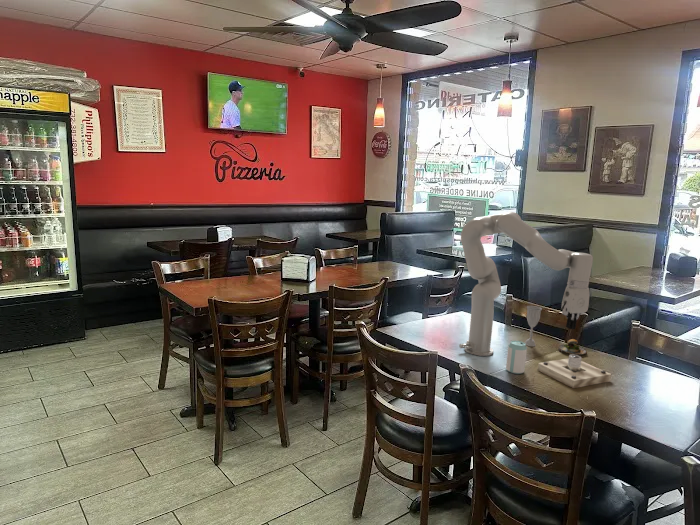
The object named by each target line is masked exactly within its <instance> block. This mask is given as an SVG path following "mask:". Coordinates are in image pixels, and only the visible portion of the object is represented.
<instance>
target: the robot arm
mask: <svg viewBox="0 0 700 525" xmlns="http://www.w3.org/2000/svg"><path fill="white" fill-rule="evenodd" d="M495 234H496V235H497V234H504V235H506V236H507V237H508V238H510V239H512V240H513V241H514V242H516V243H518V244H519V245H520V246H522V247H523V248H525V250H526V251H527V252H529V254H531V255H532V256H533V258H535V259H537V260H538V261H539V262H541V263H542V264H543V265H545V266H547V267H548V268H549V269H551V270H554V271H562V270H565V269H567V268H569V272H568V278H567V282H566V284H567V285H566V286H565V290H564V293H563V297H562V301H561V310H562V312H561V314H562V315H564V316H566V323H565V324H566V326H565V327H566V328H567V329H569V330H576V328H577V327H576V326H577V320H579V317H580V316H581V315H584V314H585V313H586V312H588V309H589V306H590V304H589V303H590V288H589V284H590V277H591V273H592V267H593V260H594V257H593V255H592V254H590V253H586V252H577V251H576V252H575V251H571V250H567V249H563V248H561V249H560V248H559V249H557V248H555V247H554V246H552V244H550V243H549V242H547V241H546V240H545V239H544V238H543V237H542V235H541V233H540V232H539V231H538V229H536V228H535V227H533V226H531V225H530V224H528V223H526V222H525V221H524V220H522V217H521V215H519V214H518V213H516V212H514V211H507V212H504V213H498V214H492V215H491V214H490V215H485V216H477V217H474V218H472V219H470V220H469V221H467V223H465V225H464V226H463V228H462V230H461V234H460V240H461V241H460V242H461V245H462V248H463V254H464V258H465V262H466V267H467V271H468V273H469V275H470V277H471V278H472V279H473V280H477V281H478V283H477V284H475V285H474V287H473V289H472V290H471V310H470V322H469V323H470V324H469V332H468V334H469V335H468V339H467V340H466V342H465V343H460V344H458V345H459V349H463V350H464V351H465V352H466V353H468V354H471V355H474V356H479V357H480V356H481V357H488V356H491V355H493V354H494V349H493V348H492V347H491V344H492V343H491V342H492V332H493V324H494V323H493V322H494V314H495V313H494V310H495V307H494V303H495V300H496V299H497V298H498V297H500V295H501V293H502V285H501V280H500V277H499V273H498V269H497V265H496V263H495V261H494V260H493V259H492V258H491V257H490V256H487V255H486V252H485V248H484V246H483V243H482V240H481V238H482V237H485V236H489V235H495Z"/></svg>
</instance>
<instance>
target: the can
mask: <svg viewBox="0 0 700 525" xmlns="http://www.w3.org/2000/svg"><path fill="white" fill-rule="evenodd" d="M507 347H508V348H507V356H506V367H505V369H506V370H507V371H508V372H509V373H511V374H514V375H515V374H516V375H521V374H523V373H524V372H525V368H526V361H527V360H526V358H527V352H528V351H527V350H528V347H527V345H526V344H525V341H524V342H523V341H521V340H511V341H510V343H509V344H508V346H507Z"/></svg>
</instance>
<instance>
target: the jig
mask: <svg viewBox="0 0 700 525" xmlns="http://www.w3.org/2000/svg"><path fill="white" fill-rule="evenodd" d="M568 360H569V357H567V358H563V359H557V360H556V359H555V360H548V361H544V362H538V364H537V368H536V370H537V371H539V372H540V373H542V374H545V375H547V376H548V377H550V378H553V379H554V380H557V382H560V383H562V384H564V385H566V386H568V387H570V388H572V389H576V388H581V387H587V386H592V385H598V384H602V383H608V382H611V379H612V373H610V372H607V371H606V370H603V369H601V368H598V367H595V366H593V365H591V364H589V363H587V362H585V361H583V360H581V367H580V372H572V371H570V370H568V369H567V367H568Z"/></svg>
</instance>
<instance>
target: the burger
mask: <svg viewBox="0 0 700 525" xmlns="http://www.w3.org/2000/svg"><path fill="white" fill-rule="evenodd" d="M578 344H579V342H578V340H576V339H574V338H573V335H572V339H569V340H567V343H565V344H561V345H558V351H559V352H560V353H561V352H564V353H567V354H569V355H578V356H581V355H584V354H585V355H587V354H588V351H587V350H586V349H585V348H583V347H580V346H579V345H578Z"/></svg>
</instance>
